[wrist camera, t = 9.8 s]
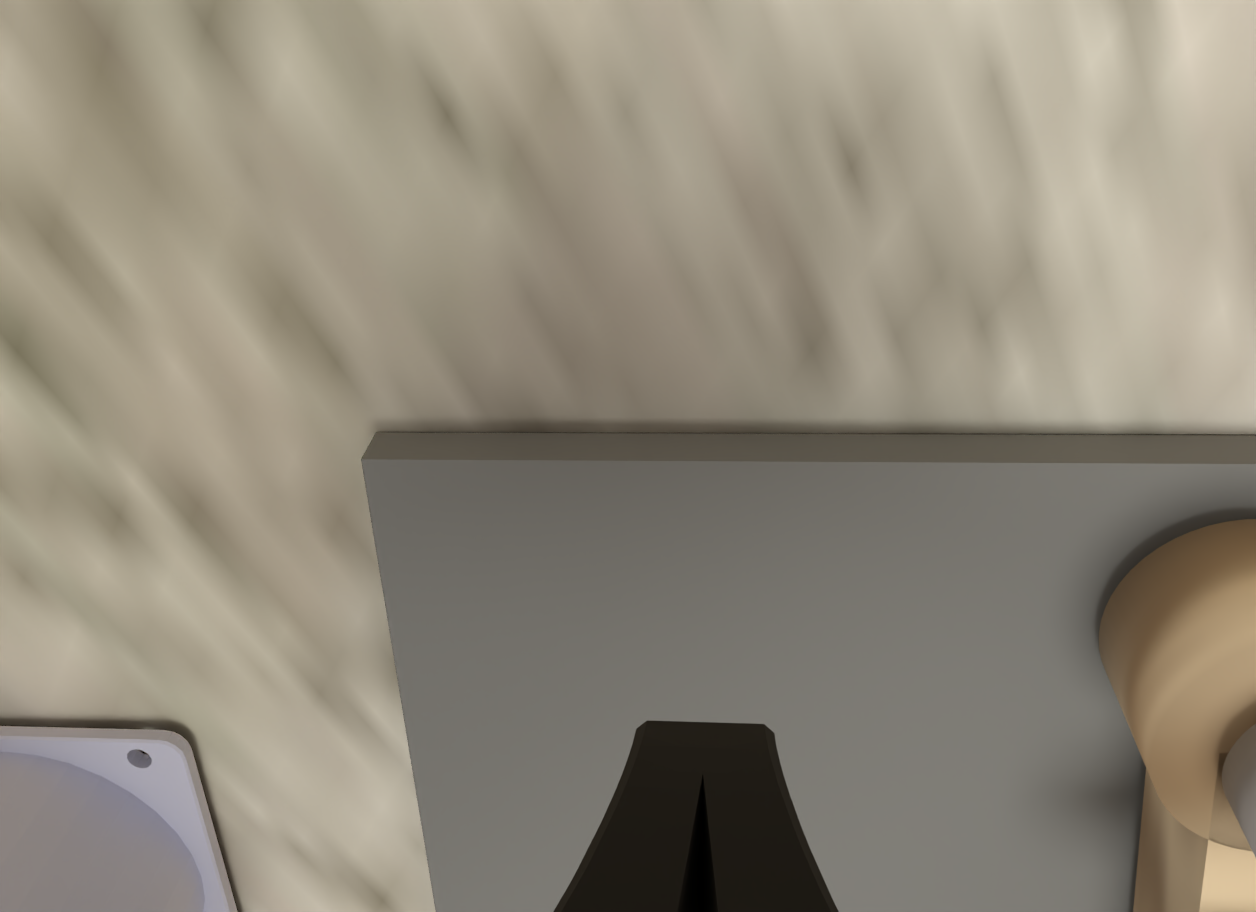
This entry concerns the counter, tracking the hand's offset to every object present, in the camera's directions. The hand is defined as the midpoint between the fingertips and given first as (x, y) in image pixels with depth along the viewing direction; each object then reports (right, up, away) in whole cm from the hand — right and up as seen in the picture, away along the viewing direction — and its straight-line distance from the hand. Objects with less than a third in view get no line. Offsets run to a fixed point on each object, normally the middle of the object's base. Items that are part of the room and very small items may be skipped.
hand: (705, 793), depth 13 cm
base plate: (+4, -5, +13) cm, 15 cm away
